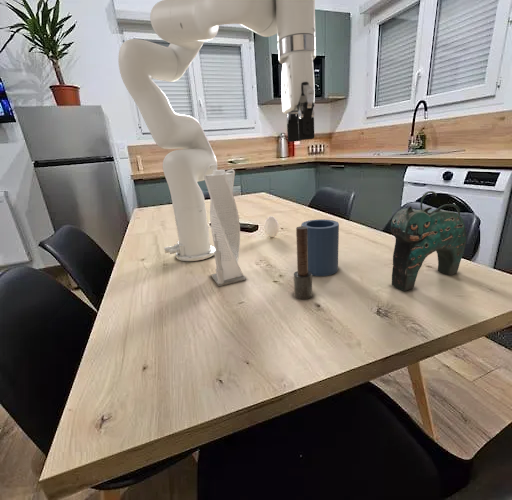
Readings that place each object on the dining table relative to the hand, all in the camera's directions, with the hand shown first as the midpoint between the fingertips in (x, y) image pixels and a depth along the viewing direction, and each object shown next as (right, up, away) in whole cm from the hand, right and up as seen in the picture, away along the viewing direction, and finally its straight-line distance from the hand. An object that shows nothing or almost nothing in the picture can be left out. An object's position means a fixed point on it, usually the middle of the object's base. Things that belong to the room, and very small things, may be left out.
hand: (300, 140), depth 66 cm
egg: (-4, -20, +40) cm, 45 cm away
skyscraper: (-17, -31, +10) cm, 37 cm away
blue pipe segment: (+7, -29, +10) cm, 32 cm away
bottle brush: (0, -34, -2) cm, 34 cm away
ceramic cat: (+28, -31, +1) cm, 42 cm away
